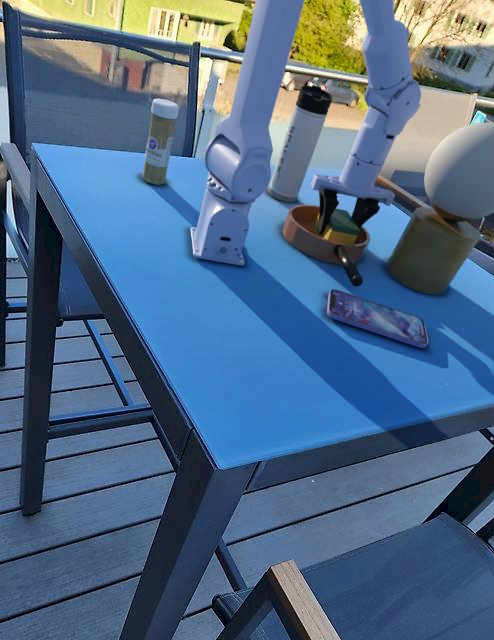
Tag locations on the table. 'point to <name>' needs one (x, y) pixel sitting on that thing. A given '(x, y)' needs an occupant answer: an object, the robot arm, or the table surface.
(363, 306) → the smartphone
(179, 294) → the table surface
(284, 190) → the travel mug
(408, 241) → the lamp
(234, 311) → the table surface
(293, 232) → the pan
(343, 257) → the pan handle
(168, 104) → the sprinkles bottle
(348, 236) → the sponge
